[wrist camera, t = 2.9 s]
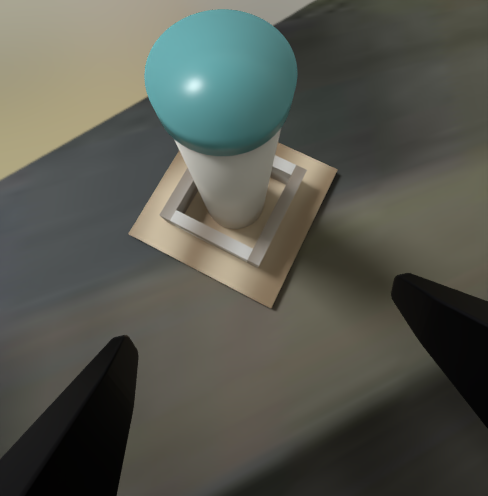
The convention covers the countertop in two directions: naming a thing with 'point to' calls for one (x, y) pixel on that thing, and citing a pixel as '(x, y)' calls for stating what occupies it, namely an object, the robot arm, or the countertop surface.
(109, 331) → the countertop surface
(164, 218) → the housing
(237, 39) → the white tall cylindrical piece
